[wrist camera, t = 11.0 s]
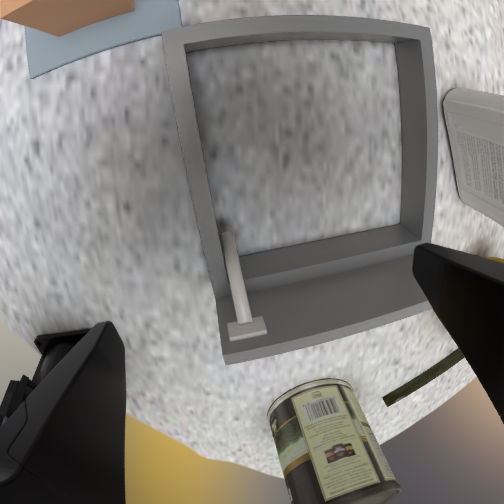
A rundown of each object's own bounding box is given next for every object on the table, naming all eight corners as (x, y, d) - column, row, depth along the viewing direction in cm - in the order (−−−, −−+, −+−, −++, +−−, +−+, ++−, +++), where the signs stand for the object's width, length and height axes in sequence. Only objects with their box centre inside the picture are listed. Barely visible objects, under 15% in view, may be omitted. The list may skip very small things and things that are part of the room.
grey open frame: (214, 283, 23) (225, 365, 16) (166, 41, 15) (146, 4, 8) (407, 241, 24) (468, 294, 17) (403, 32, 16) (485, 22, 9)
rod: (381, 397, 36) (388, 409, 34) (380, 394, 35) (387, 406, 34) (540, 277, 33) (548, 284, 31) (541, 273, 33) (549, 280, 31)
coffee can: (292, 438, 36) (321, 531, 24) (249, 409, 31) (276, 529, 19) (364, 401, 35) (408, 493, 22) (335, 363, 30) (391, 483, 17)
